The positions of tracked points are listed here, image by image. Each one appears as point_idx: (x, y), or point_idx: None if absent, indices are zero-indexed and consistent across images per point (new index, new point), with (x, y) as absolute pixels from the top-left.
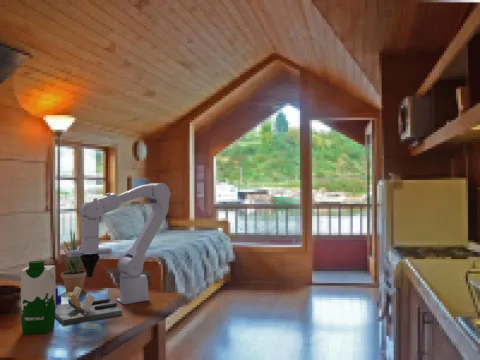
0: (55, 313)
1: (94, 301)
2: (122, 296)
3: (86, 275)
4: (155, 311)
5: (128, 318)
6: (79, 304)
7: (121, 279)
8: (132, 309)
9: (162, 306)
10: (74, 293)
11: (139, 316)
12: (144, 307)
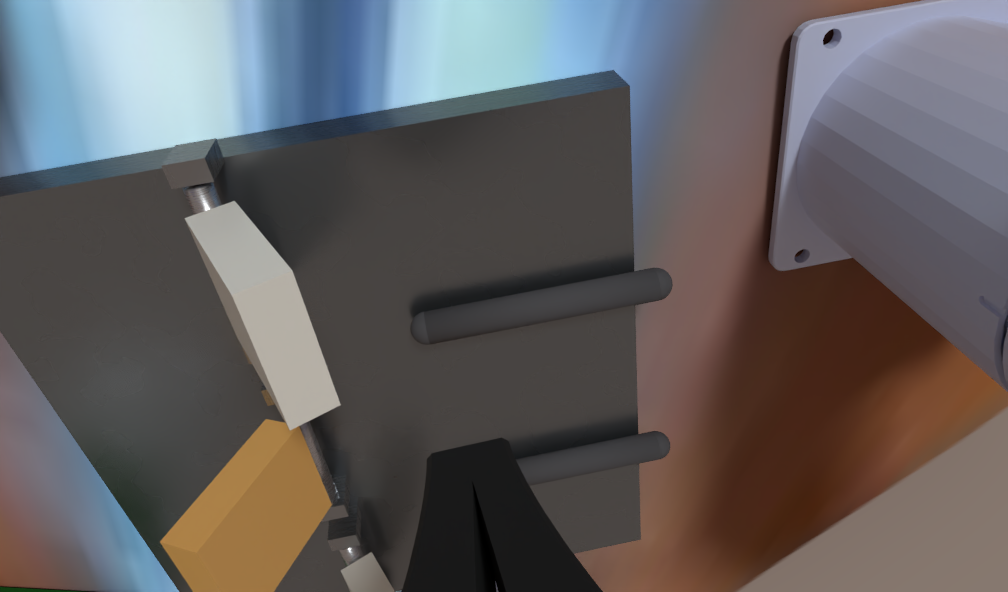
0: (94, 458)
1: (486, 333)
2: (828, 218)
3: (427, 470)
4: (847, 501)
5: (636, 576)
6: (317, 512)
7: (972, 325)
8: (752, 416)
9: (964, 415)
10: (239, 332)
11: (710, 560)
12: (853, 396)
